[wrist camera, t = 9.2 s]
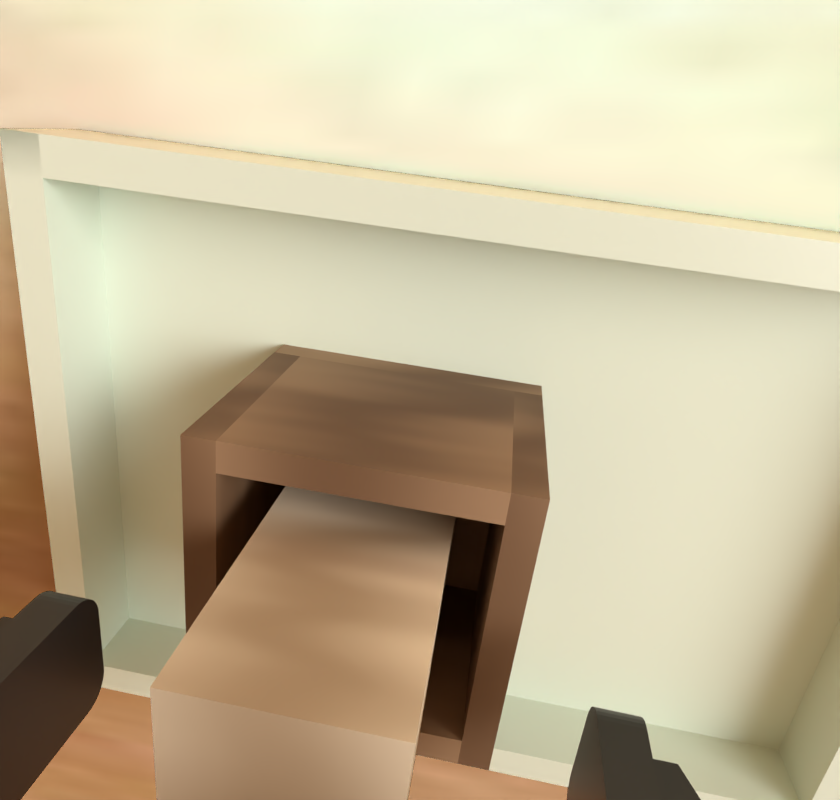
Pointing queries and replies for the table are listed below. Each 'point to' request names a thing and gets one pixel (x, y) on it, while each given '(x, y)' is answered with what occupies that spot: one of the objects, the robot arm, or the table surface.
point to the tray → (483, 356)
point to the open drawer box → (388, 500)
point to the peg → (307, 658)
